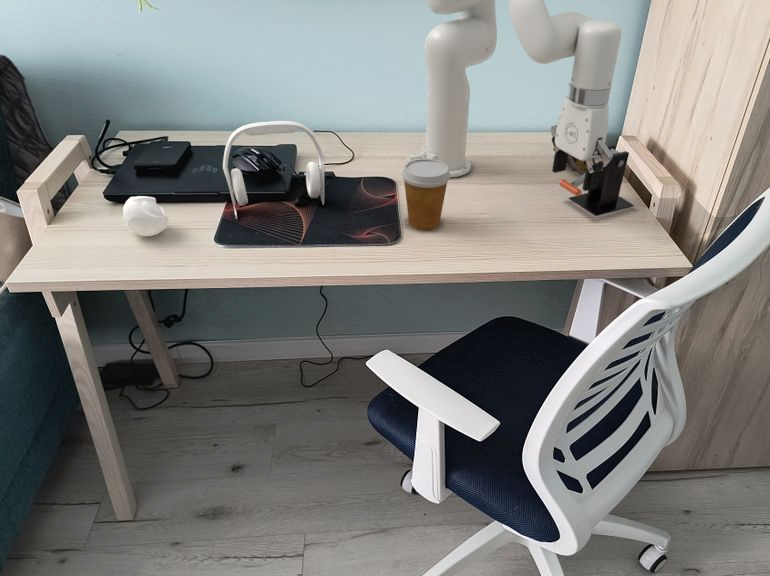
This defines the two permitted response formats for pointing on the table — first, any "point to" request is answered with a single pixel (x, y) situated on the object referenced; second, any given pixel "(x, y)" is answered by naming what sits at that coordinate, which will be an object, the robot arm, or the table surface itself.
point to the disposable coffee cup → (425, 191)
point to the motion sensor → (144, 216)
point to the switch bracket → (606, 188)
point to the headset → (312, 171)
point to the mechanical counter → (577, 164)
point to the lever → (577, 181)
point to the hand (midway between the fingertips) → (573, 180)
